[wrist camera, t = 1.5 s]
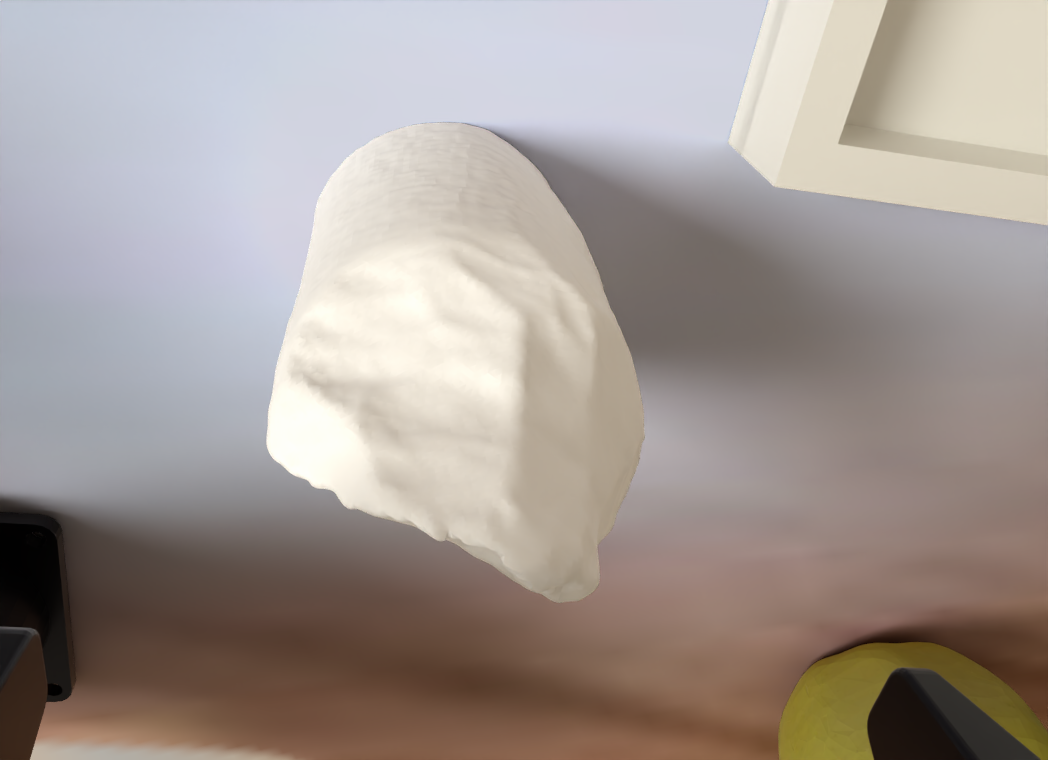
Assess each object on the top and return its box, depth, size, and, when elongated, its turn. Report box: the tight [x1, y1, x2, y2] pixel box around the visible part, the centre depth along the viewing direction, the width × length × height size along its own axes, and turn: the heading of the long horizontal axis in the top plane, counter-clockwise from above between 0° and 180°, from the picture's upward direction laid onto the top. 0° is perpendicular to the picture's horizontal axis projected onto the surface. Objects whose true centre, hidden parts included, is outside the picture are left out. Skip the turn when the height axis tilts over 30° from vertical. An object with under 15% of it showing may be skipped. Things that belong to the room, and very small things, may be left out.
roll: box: [267, 122, 645, 603], centre depth 16 cm, size 6×12×6 cm
